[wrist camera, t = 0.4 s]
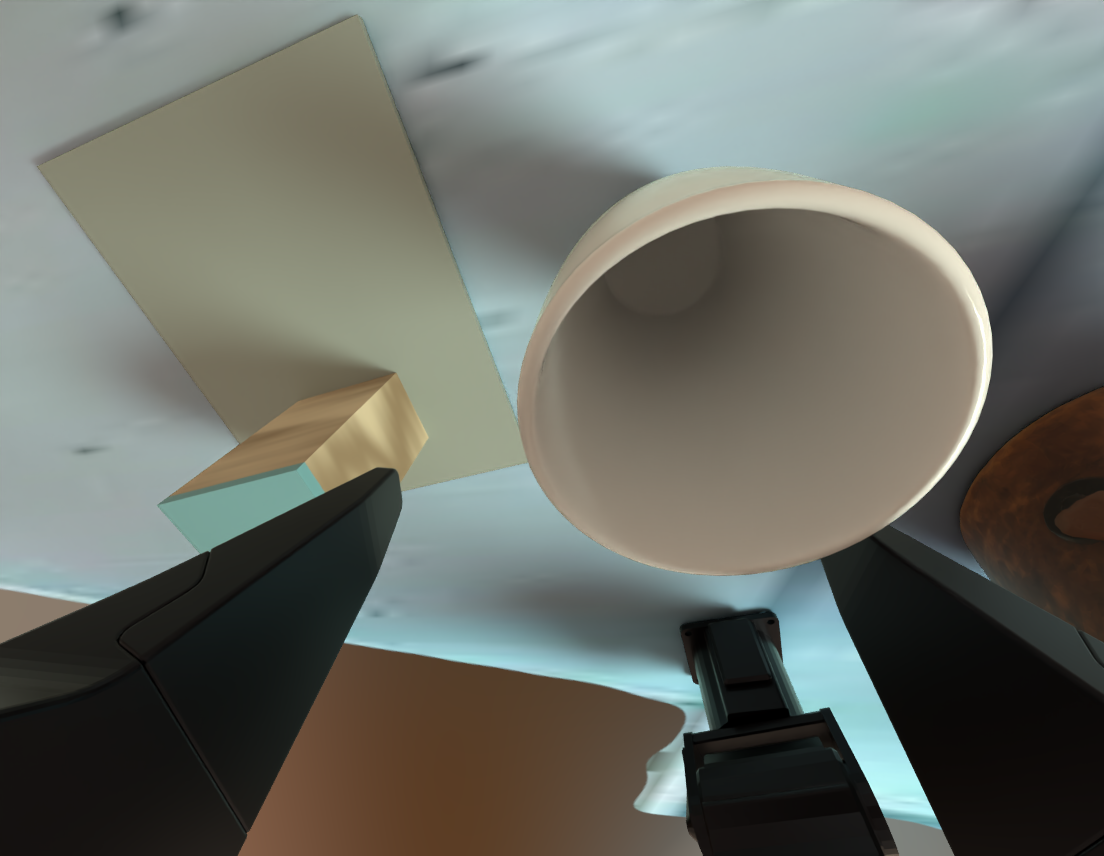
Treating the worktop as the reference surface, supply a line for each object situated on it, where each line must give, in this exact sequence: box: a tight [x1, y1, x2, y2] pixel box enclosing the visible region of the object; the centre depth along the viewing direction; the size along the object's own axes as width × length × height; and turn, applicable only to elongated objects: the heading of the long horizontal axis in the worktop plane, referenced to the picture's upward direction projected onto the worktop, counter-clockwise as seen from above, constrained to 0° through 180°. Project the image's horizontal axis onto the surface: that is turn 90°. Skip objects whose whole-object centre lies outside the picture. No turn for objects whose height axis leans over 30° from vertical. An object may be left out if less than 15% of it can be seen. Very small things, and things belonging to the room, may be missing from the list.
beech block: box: [157, 373, 429, 554], centre depth 20 cm, size 4×6×9 cm, turn 107°
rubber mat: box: [37, 15, 528, 492], centre depth 22 cm, size 20×16×1 cm
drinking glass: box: [517, 166, 993, 576], centre depth 13 cm, size 7×7×15 cm
